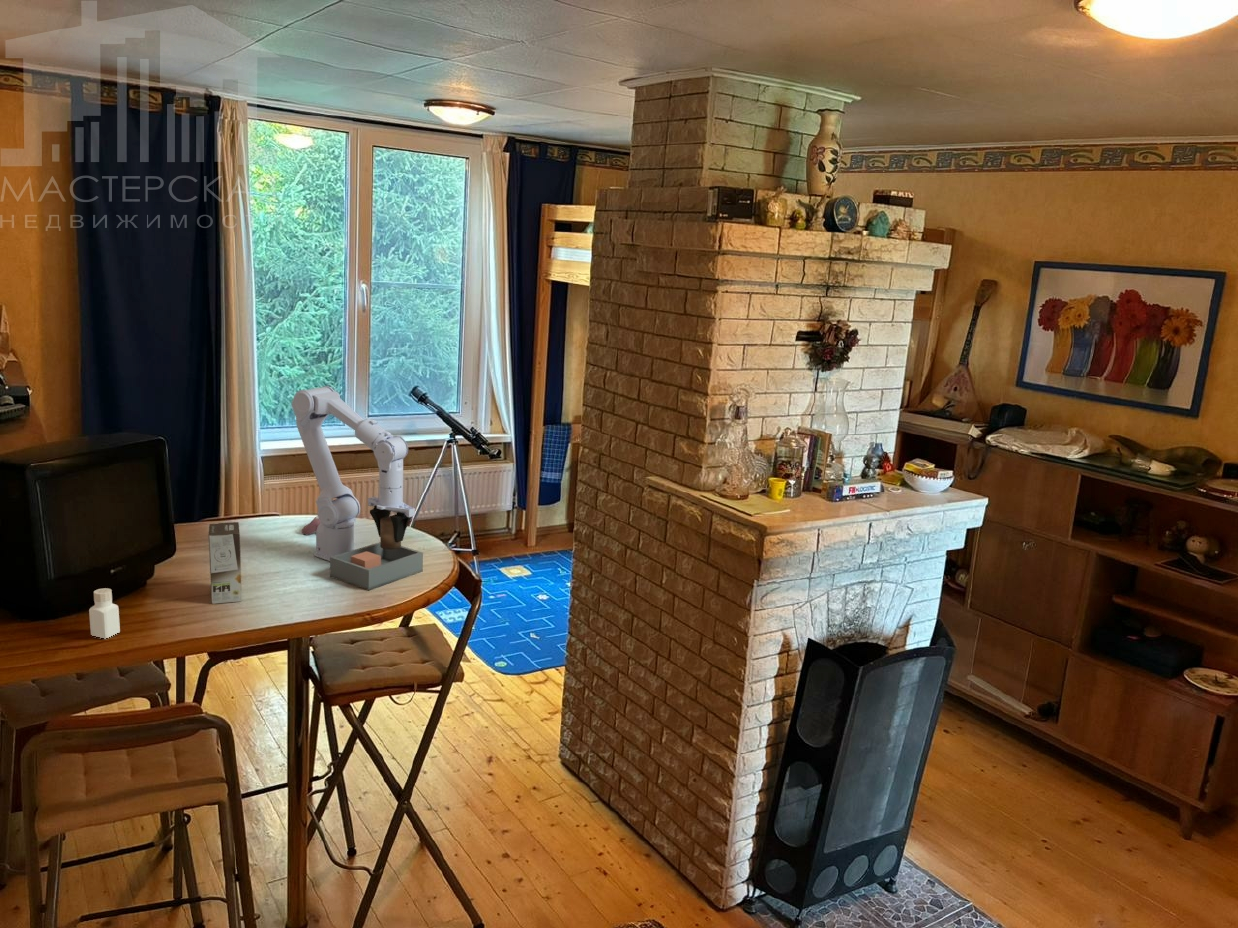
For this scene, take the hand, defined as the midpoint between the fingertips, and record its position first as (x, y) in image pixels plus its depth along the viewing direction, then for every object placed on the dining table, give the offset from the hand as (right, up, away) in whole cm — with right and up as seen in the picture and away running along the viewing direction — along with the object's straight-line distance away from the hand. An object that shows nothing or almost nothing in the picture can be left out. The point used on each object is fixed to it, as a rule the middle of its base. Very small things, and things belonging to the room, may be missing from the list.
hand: (390, 538), depth 232 cm
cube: (-5, -9, -5) cm, 11 cm away
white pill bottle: (-47, -16, -44) cm, 66 cm away
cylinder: (0, -2, 0) cm, 2 cm away
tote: (-3, -9, -2) cm, 9 cm away
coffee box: (-32, -11, -21) cm, 40 cm away
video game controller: (-27, 0, +28) cm, 39 cm away
